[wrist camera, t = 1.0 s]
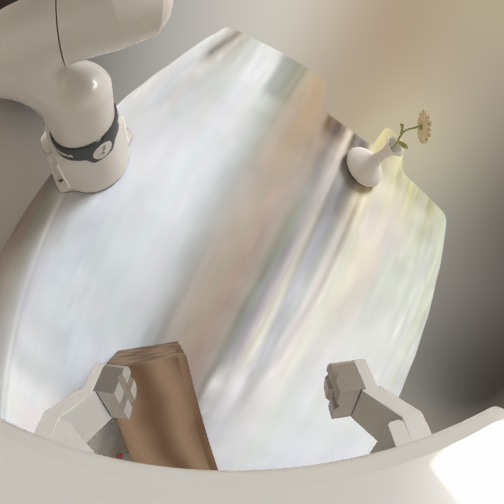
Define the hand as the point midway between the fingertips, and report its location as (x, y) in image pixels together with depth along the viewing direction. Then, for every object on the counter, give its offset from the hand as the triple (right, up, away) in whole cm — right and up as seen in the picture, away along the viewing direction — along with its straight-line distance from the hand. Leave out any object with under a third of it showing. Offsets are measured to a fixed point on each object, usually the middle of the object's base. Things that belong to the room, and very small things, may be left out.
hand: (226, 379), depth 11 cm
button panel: (-15, -23, +34) cm, 44 cm away
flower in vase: (+30, +27, +59) cm, 72 cm away
